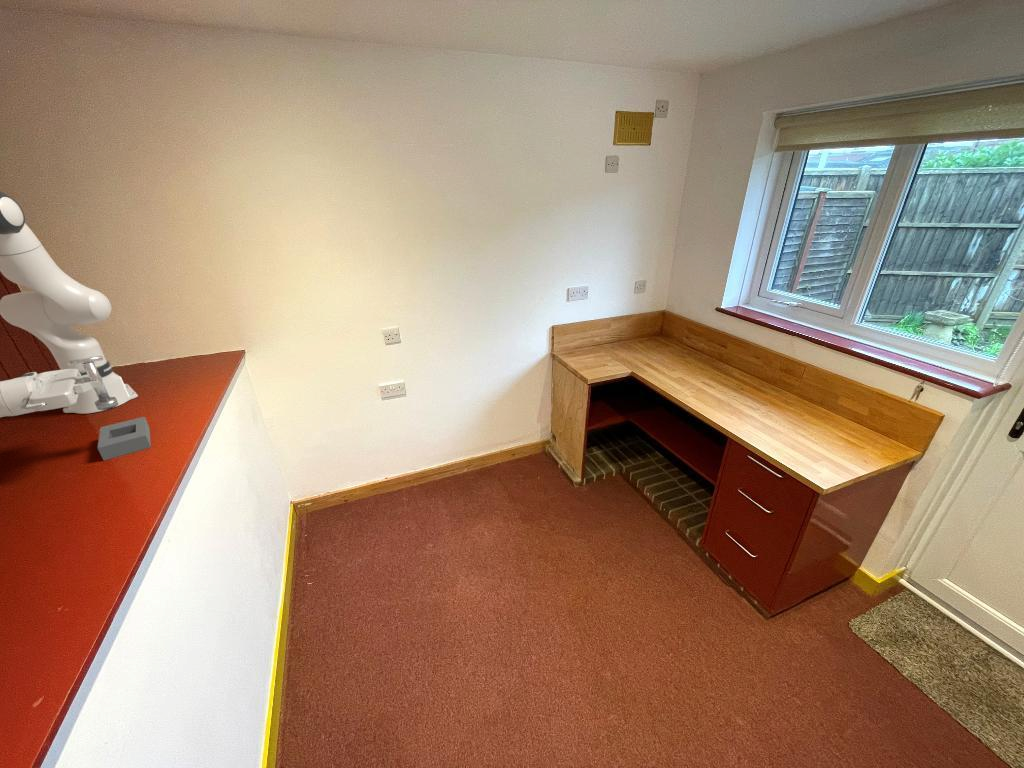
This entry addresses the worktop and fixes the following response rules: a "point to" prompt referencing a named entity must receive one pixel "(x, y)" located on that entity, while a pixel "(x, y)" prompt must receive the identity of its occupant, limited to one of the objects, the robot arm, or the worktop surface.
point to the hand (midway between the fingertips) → (101, 380)
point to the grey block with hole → (124, 438)
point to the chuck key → (93, 374)
